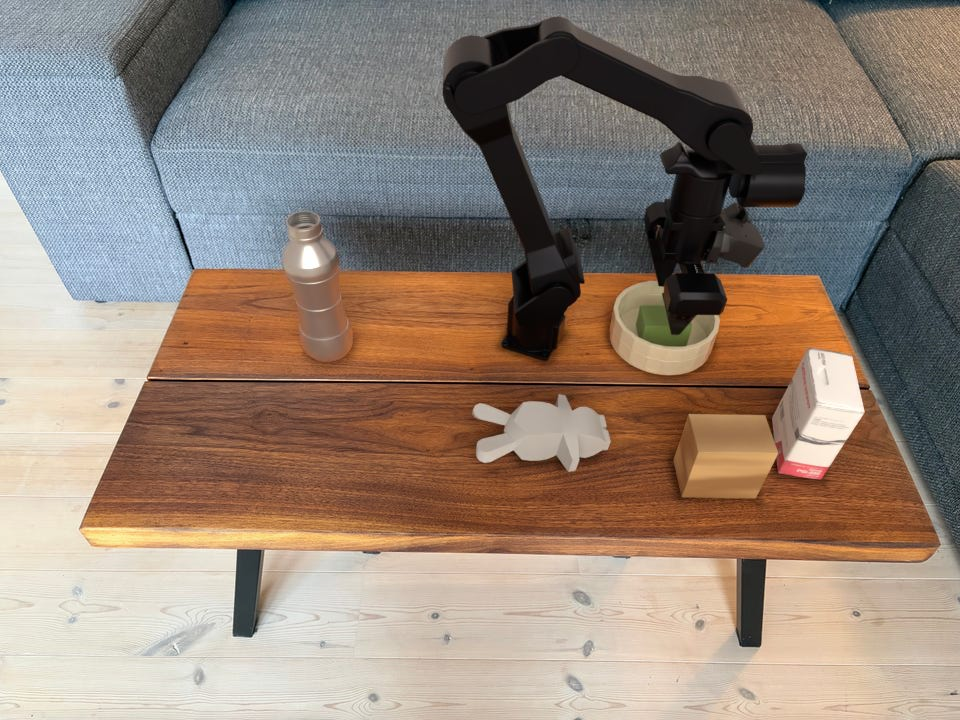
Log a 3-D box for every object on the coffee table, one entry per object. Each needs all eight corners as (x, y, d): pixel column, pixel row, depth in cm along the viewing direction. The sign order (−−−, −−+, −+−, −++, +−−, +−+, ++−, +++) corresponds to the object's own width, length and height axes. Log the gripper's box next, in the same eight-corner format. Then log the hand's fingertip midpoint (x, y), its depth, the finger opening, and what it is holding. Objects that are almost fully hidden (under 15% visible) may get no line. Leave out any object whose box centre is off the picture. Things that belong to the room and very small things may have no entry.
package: (686, 346, 93) (692, 326, 90) (640, 345, 93) (644, 326, 90) (680, 325, 95) (686, 305, 93) (635, 325, 95) (640, 305, 93)
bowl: (721, 376, 90) (730, 350, 87) (615, 374, 90) (621, 349, 87) (699, 306, 99) (707, 281, 96) (604, 305, 99) (608, 279, 96)
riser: (755, 498, 77) (778, 453, 71) (681, 497, 77) (698, 452, 71) (744, 460, 81) (765, 414, 75) (673, 459, 81) (688, 413, 75)
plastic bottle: (341, 374, 89) (317, 242, 75) (293, 361, 91) (260, 230, 77) (364, 340, 94) (344, 210, 79) (317, 328, 95) (290, 198, 81)
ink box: (824, 482, 79) (867, 412, 70) (777, 474, 79) (813, 404, 71) (815, 423, 85) (853, 351, 76) (770, 416, 85) (803, 344, 77)
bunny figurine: (620, 453, 76) (480, 450, 74) (608, 481, 80) (474, 480, 78) (602, 387, 83) (473, 383, 81) (591, 416, 86) (468, 413, 84)
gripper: (793, 255, 73) (751, 362, 84) (747, 160, 86) (716, 264, 97) (684, 254, 73) (656, 361, 84) (654, 159, 86) (633, 263, 97)
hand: (668, 309), depth 91 cm, fingers open, 9 cm apart
